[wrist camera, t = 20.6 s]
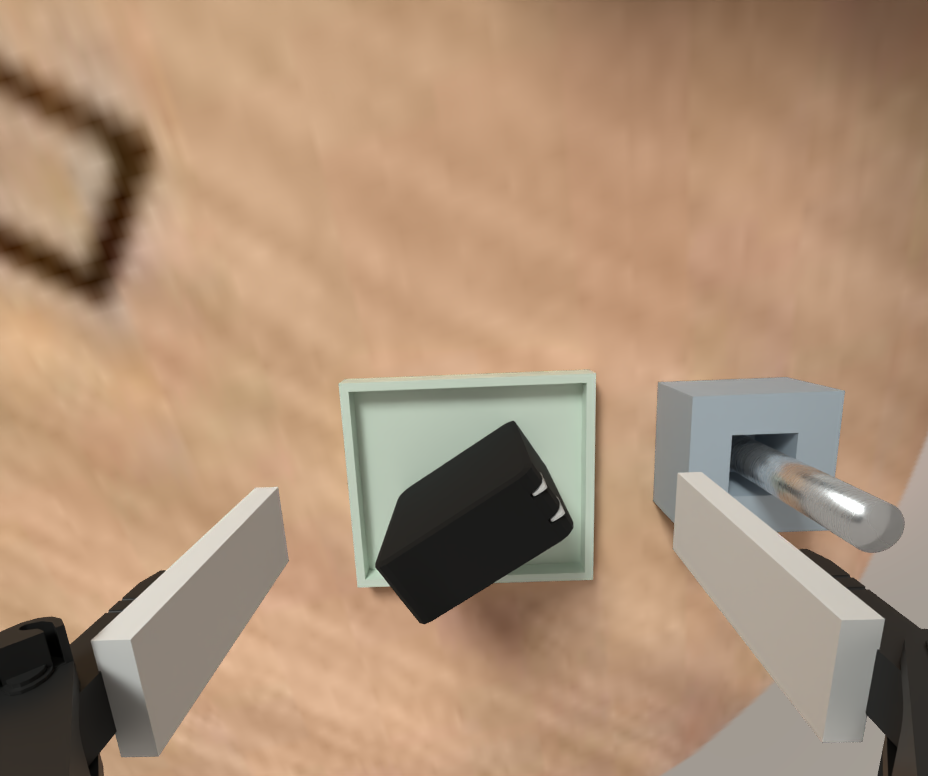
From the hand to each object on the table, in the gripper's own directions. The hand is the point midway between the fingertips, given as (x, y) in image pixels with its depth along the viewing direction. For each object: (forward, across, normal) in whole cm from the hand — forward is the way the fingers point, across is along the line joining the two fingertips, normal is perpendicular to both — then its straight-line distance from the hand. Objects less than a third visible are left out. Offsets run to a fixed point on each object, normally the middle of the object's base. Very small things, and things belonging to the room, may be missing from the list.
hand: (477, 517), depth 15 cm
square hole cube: (+18, +18, -4) cm, 25 cm away
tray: (+18, 0, -6) cm, 19 cm away
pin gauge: (+17, +18, -4) cm, 25 cm away
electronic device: (+17, 0, -6) cm, 18 cm away
